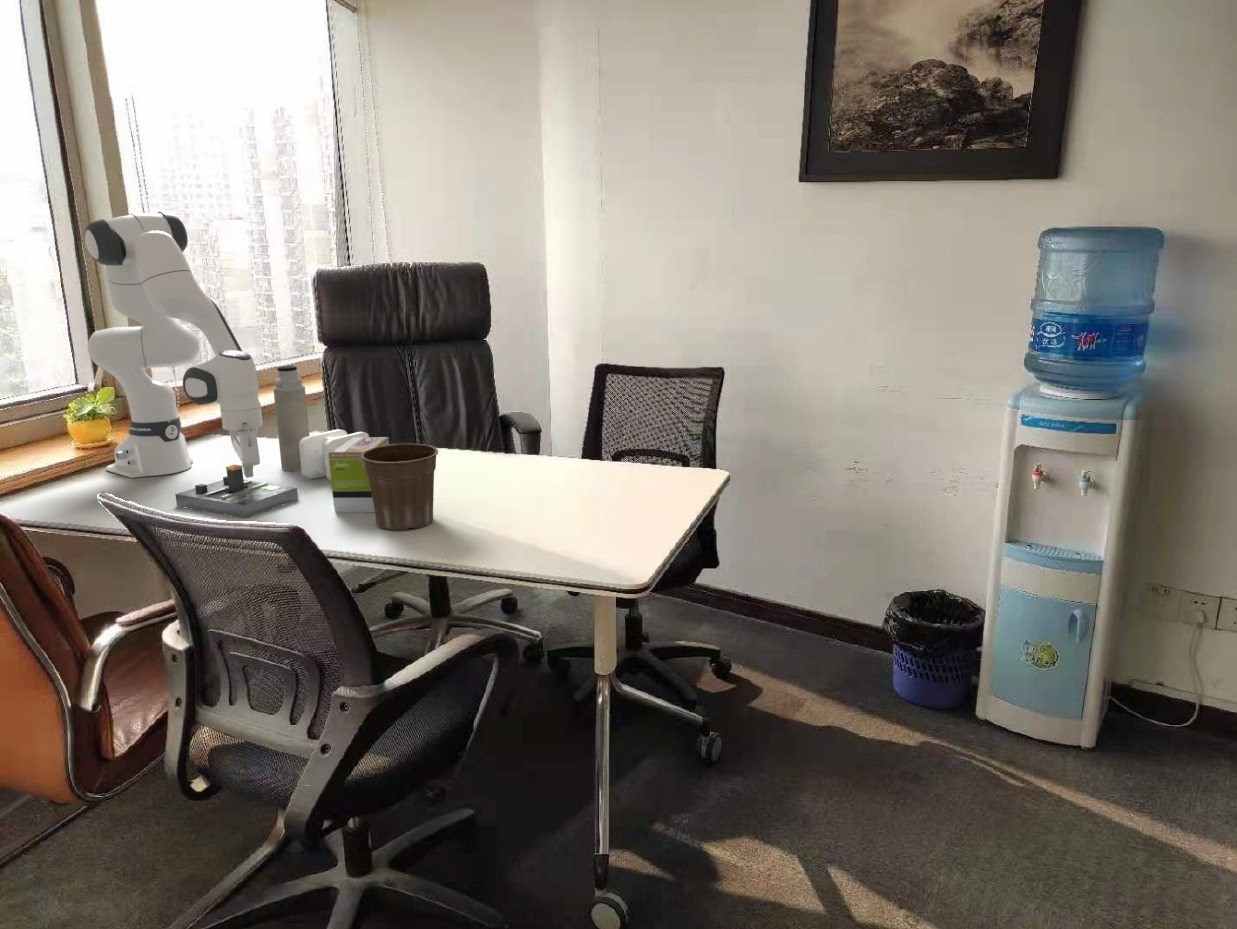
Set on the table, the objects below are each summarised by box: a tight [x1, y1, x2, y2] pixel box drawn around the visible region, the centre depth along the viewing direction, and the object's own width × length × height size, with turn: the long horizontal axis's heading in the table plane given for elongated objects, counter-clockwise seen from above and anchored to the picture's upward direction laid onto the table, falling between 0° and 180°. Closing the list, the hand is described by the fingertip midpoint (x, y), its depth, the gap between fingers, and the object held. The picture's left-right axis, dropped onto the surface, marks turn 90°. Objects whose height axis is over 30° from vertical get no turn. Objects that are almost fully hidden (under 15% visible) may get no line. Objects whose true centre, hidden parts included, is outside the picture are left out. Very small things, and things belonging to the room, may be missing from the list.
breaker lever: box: [225, 464, 248, 492], centre depth 202 cm, size 3×4×6 cm
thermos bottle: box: [272, 365, 311, 472], centre depth 232 cm, size 8×8×28 cm
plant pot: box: [361, 443, 439, 532], centre depth 186 cm, size 16×16×16 cm
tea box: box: [328, 436, 390, 513], centre depth 201 cm, size 15×10×15 cm, turn 178°
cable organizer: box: [299, 429, 370, 481], centre depth 225 cm, size 15×11×12 cm
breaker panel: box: [174, 475, 299, 519], centre depth 203 cm, size 22×16×5 cm
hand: (248, 476), depth 205 cm, fingers closed
